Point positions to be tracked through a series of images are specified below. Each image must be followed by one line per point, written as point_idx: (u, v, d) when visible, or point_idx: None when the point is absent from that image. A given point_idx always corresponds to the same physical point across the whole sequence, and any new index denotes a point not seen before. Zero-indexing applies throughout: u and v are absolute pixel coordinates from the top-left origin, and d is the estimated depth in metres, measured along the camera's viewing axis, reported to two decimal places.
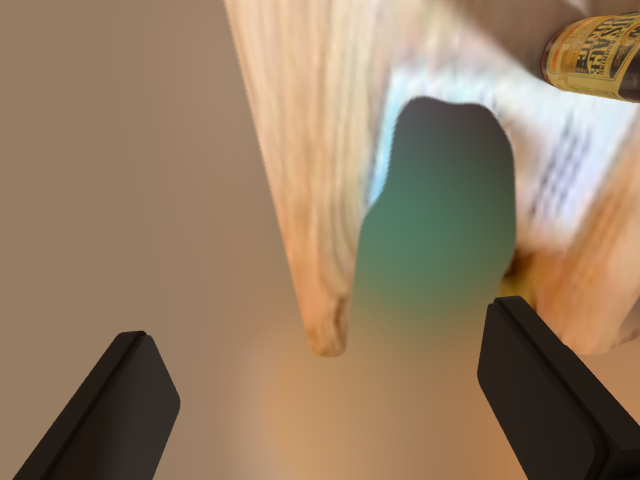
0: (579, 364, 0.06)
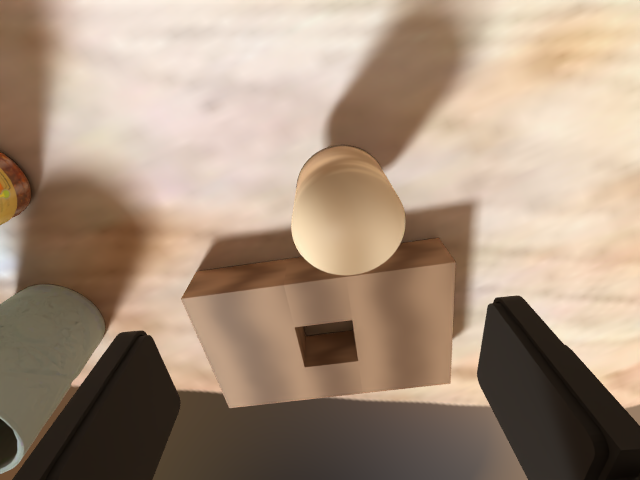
0: (579, 364, 0.06)
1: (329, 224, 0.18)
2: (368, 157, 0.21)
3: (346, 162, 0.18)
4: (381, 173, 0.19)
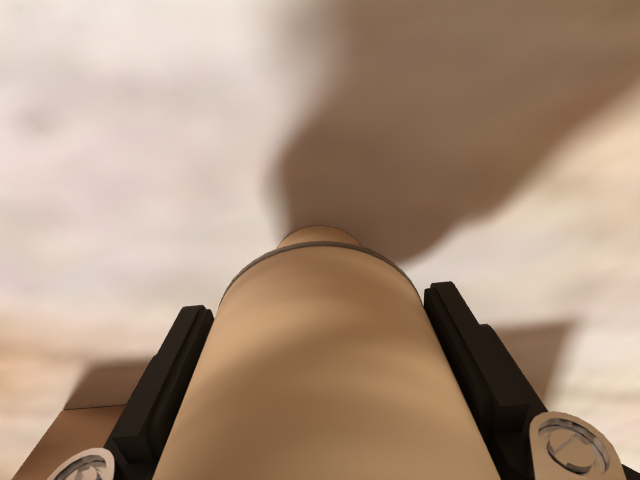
0: (486, 338, 0.07)
1: None
2: (394, 291, 0.08)
3: (333, 368, 0.05)
4: (445, 388, 0.06)
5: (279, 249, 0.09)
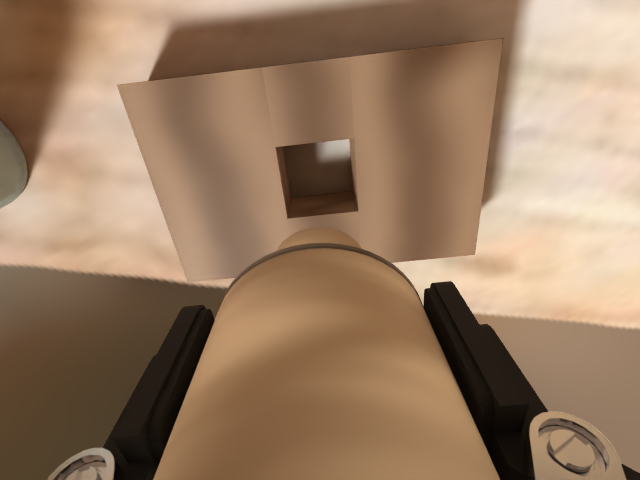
0: (486, 338, 0.07)
1: None
2: (395, 293, 0.08)
3: (334, 372, 0.05)
4: (446, 391, 0.06)
5: (279, 251, 0.09)
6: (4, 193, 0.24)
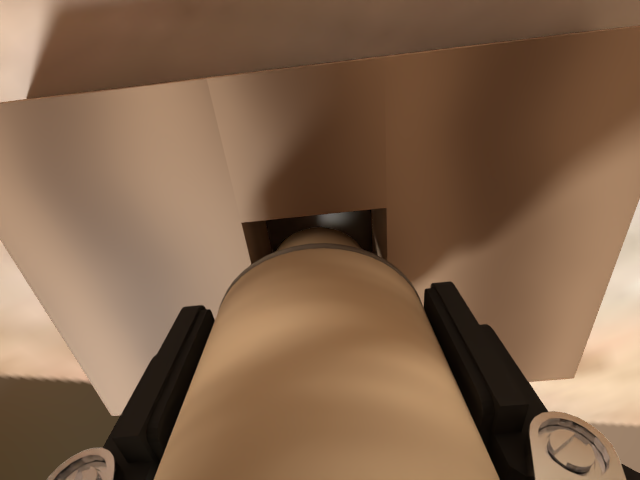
0: (485, 338, 0.07)
1: None
2: (395, 294, 0.08)
3: (333, 372, 0.05)
4: (446, 391, 0.06)
5: (279, 251, 0.09)
6: None
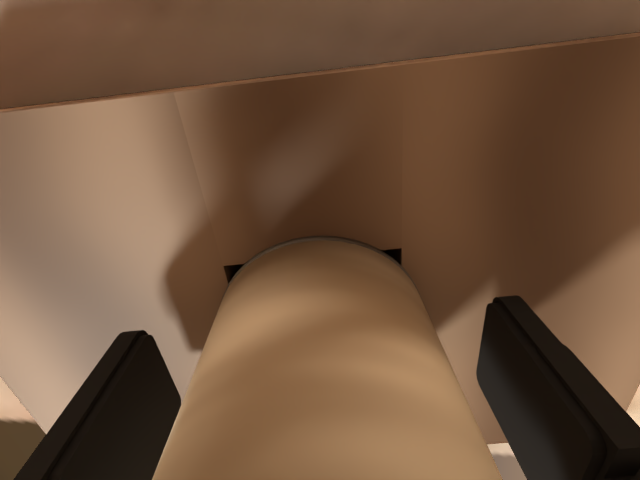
0: (577, 363, 0.06)
1: None
2: (393, 284, 0.08)
3: (333, 354, 0.05)
4: (441, 374, 0.06)
5: (280, 243, 0.09)
6: None
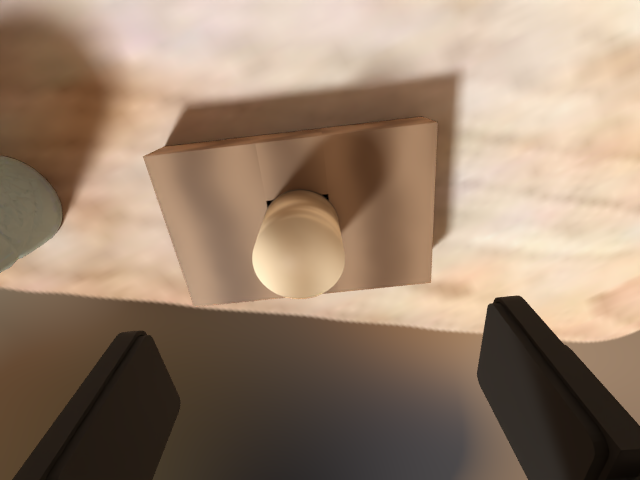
0: (579, 364, 0.06)
1: (283, 258, 0.22)
2: (321, 201, 0.25)
3: (300, 207, 0.23)
4: (328, 217, 0.23)
5: (286, 192, 0.27)
6: (44, 235, 0.30)
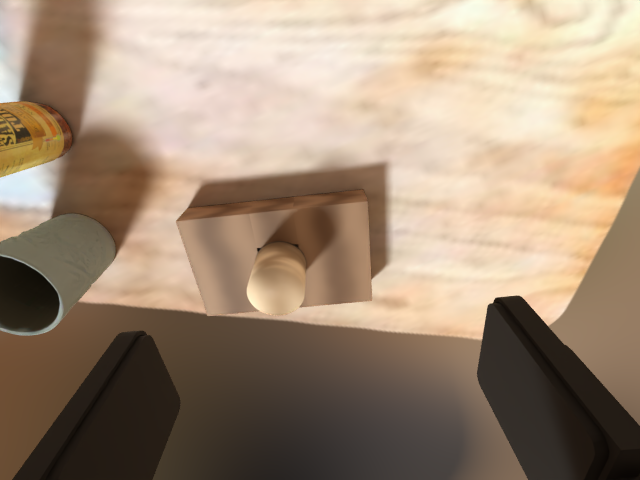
0: (579, 364, 0.06)
1: (265, 291, 0.36)
2: (292, 251, 0.39)
3: (276, 259, 0.36)
4: (295, 264, 0.37)
5: None
6: (105, 267, 0.43)
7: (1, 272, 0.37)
